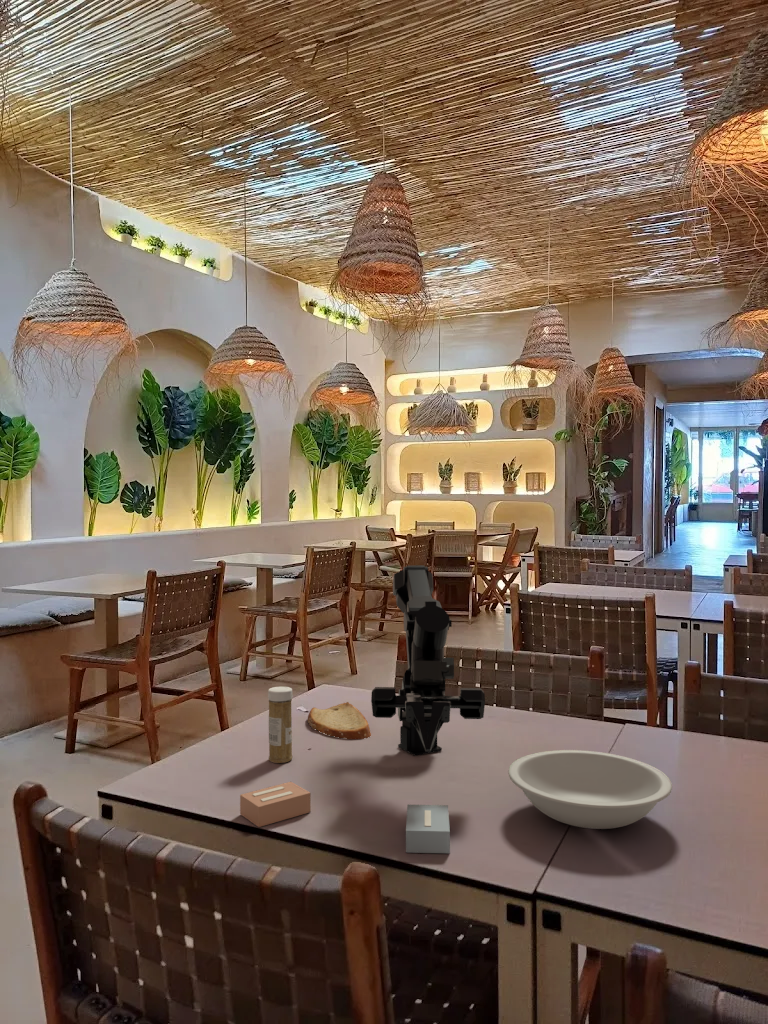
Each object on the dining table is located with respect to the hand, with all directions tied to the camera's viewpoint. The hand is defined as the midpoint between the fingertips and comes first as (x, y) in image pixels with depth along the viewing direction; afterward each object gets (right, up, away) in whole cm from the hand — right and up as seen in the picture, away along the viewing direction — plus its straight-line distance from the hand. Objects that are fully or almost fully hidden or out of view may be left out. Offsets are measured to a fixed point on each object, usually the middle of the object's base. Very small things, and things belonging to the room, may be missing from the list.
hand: (428, 750), depth 118 cm
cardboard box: (-20, -7, -1) cm, 21 cm away
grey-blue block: (-1, -7, -8) cm, 11 cm away
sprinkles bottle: (-27, -9, +21) cm, 35 cm away
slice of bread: (-16, -9, +44) cm, 48 cm away
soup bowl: (+24, -9, -5) cm, 26 cm away
